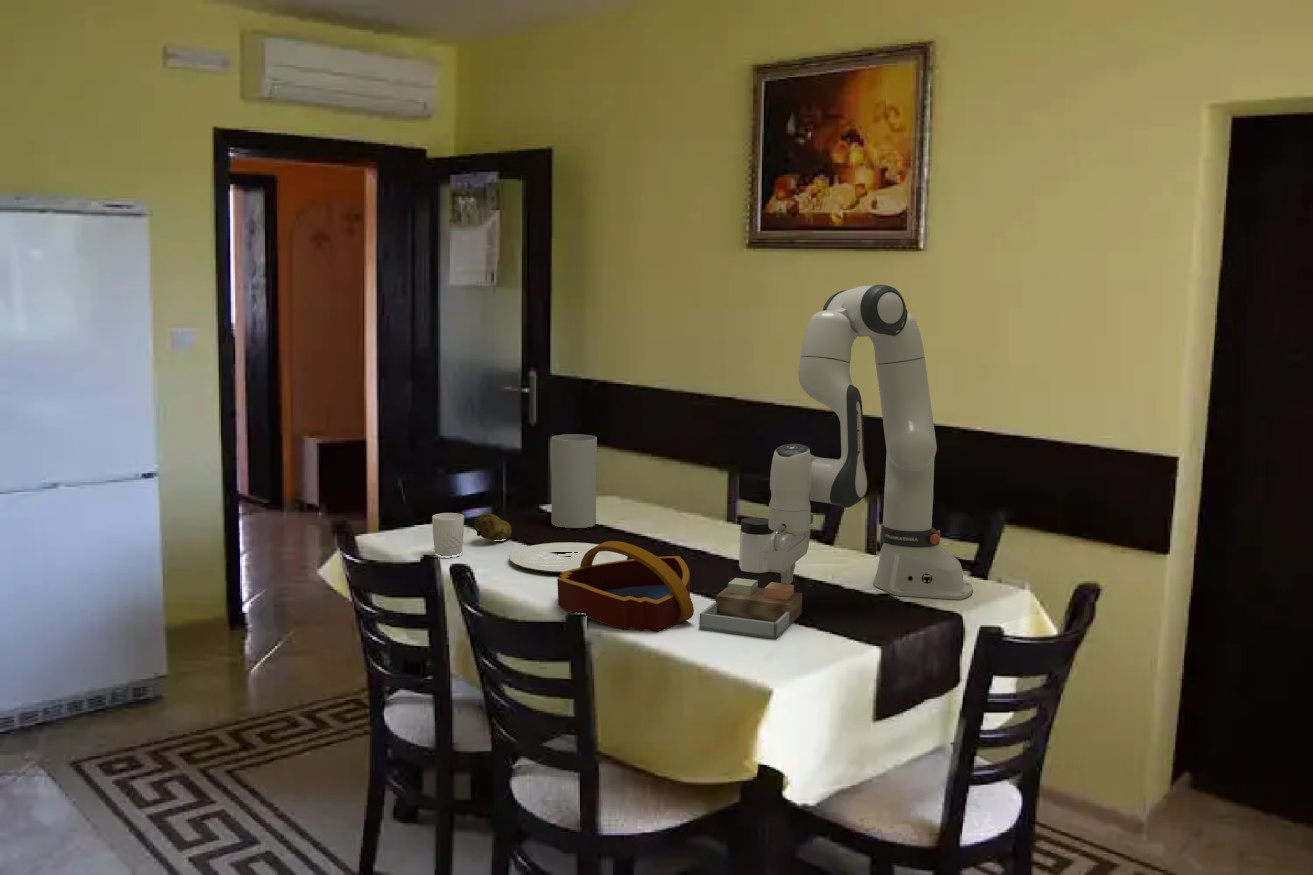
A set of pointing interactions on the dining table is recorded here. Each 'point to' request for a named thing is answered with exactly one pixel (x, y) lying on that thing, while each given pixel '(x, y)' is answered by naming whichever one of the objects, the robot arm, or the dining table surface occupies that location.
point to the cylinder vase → (574, 480)
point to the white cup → (448, 533)
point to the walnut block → (758, 606)
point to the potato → (492, 527)
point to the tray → (742, 624)
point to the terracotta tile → (779, 590)
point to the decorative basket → (629, 589)
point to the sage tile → (742, 586)
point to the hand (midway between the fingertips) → (786, 583)
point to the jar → (754, 544)
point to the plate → (573, 562)
